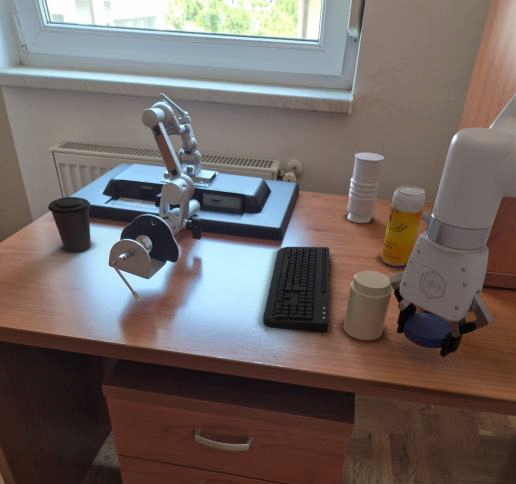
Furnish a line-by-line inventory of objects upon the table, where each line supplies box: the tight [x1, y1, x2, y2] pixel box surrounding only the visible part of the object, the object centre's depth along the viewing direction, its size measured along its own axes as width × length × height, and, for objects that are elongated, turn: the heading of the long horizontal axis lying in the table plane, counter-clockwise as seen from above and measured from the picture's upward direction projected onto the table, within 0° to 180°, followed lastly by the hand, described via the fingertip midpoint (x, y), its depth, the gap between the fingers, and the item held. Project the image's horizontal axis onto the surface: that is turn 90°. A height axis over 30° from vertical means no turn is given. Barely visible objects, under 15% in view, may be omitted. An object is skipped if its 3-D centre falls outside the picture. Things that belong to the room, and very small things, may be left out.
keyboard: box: [262, 246, 330, 333], centre depth 90 cm, size 30×11×2 cm, turn 173°
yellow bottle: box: [380, 185, 427, 267], centre depth 96 cm, size 6×6×15 cm
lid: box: [403, 312, 451, 349], centre depth 72 cm, size 7×7×2 cm
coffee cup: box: [47, 196, 92, 253], centre depth 98 cm, size 8×8×10 cm
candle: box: [346, 152, 385, 224], centre depth 115 cm, size 7×7×15 cm
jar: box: [343, 270, 393, 341], centre depth 76 cm, size 6×6×9 cm
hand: (424, 340), depth 73 cm, fingers closed on lid, 7 cm apart
